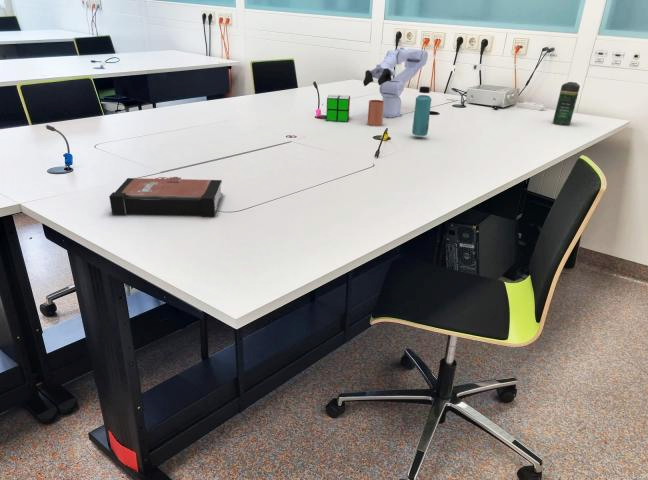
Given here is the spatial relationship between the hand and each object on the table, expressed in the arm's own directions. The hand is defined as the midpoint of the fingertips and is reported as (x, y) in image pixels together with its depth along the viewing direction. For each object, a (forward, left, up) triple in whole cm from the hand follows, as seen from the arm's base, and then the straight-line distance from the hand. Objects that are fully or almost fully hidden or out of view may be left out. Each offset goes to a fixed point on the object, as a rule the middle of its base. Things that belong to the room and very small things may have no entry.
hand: (371, 83), depth 240 cm
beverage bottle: (+7, +33, -17) cm, 37 cm away
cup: (+1, +5, -17) cm, 17 cm away
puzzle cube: (+6, -13, -17) cm, 23 cm away
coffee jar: (-73, +61, -17) cm, 96 cm away
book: (+127, +33, -17) cm, 132 cm away
